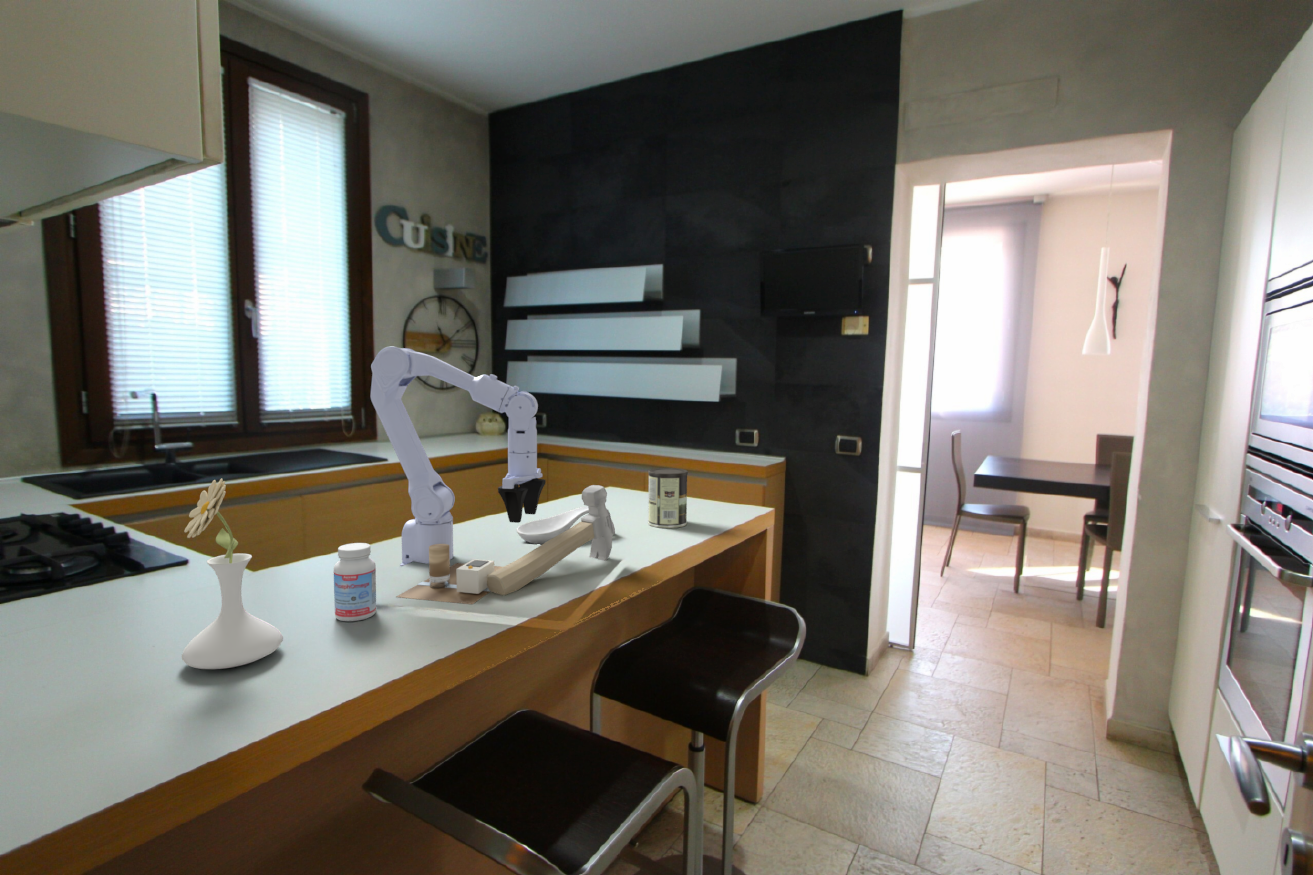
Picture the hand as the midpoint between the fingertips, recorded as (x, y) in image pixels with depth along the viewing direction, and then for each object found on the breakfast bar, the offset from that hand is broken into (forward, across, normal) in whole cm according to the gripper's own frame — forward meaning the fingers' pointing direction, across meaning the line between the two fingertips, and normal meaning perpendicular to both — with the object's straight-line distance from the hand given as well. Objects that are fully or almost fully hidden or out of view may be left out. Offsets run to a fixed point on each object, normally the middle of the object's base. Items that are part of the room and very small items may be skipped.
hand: (522, 517), depth 130 cm
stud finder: (+8, -20, 0) cm, 22 cm away
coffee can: (+10, +42, -22) cm, 48 cm away
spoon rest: (+10, +21, -2) cm, 23 cm away
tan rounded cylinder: (+8, -20, +7) cm, 23 cm away
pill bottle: (+10, -33, +14) cm, 37 cm away
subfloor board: (+9, -17, +4) cm, 20 cm away
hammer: (+10, -8, -10) cm, 16 cm away
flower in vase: (+10, -51, +19) cm, 55 cm away
